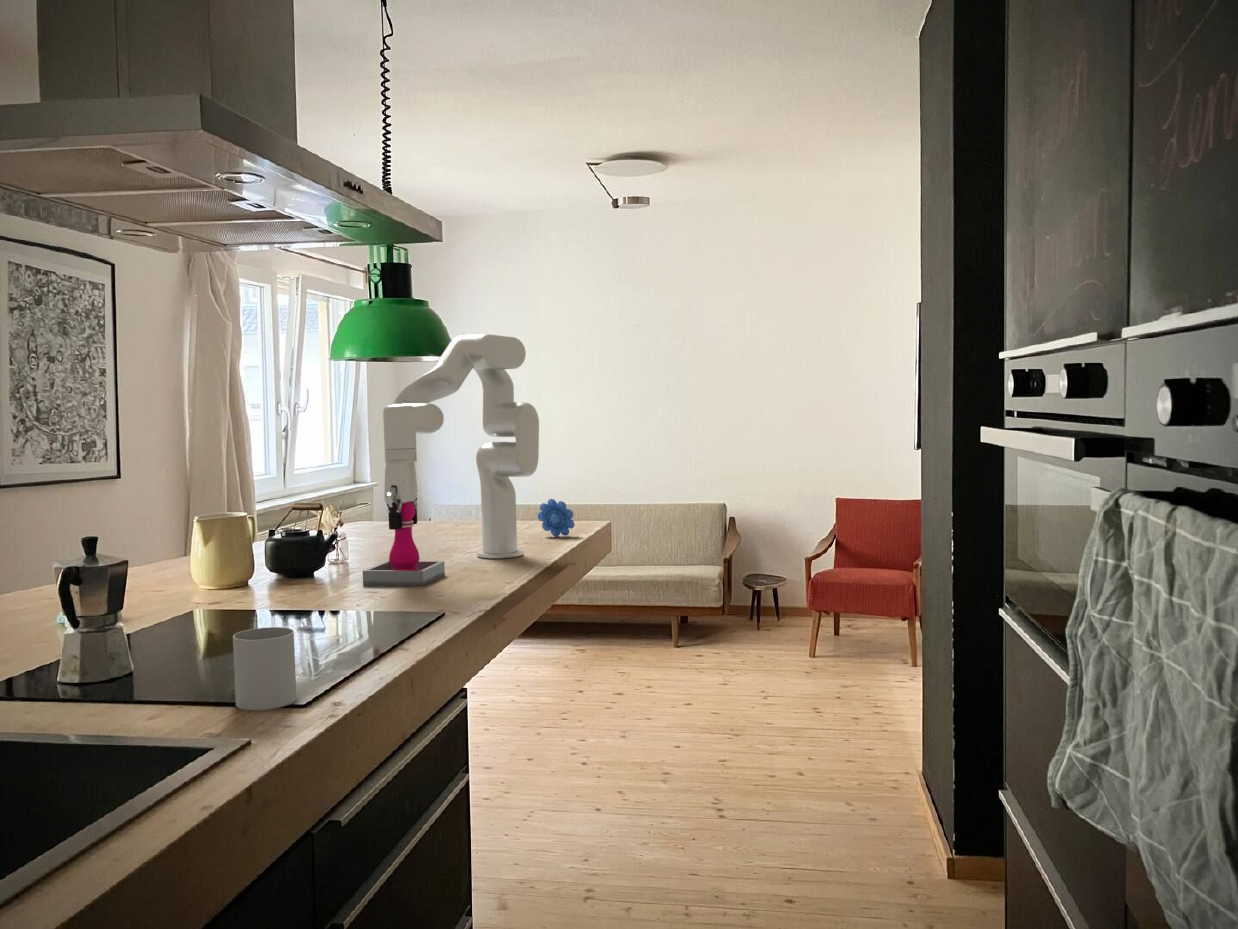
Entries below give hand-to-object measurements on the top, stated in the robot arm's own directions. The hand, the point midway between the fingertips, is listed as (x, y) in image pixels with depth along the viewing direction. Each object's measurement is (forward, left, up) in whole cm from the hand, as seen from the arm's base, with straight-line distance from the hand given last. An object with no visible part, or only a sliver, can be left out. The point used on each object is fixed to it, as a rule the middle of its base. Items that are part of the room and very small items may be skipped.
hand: (403, 526), depth 250 cm
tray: (0, 0, -13) cm, 13 cm away
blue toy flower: (-78, +19, -13) cm, 82 cm away
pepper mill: (0, 0, -12) cm, 12 cm away
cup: (+100, +17, -13) cm, 102 cm away
